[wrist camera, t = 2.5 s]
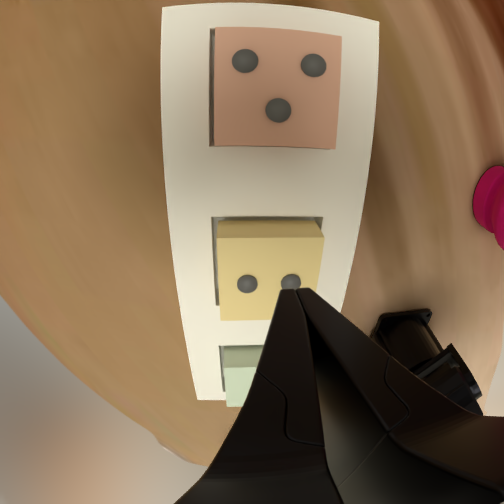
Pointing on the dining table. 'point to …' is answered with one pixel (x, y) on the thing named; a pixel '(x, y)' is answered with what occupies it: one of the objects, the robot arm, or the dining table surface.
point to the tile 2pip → (264, 264)
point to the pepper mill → (491, 202)
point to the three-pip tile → (276, 87)
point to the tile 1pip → (239, 372)
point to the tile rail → (255, 169)
